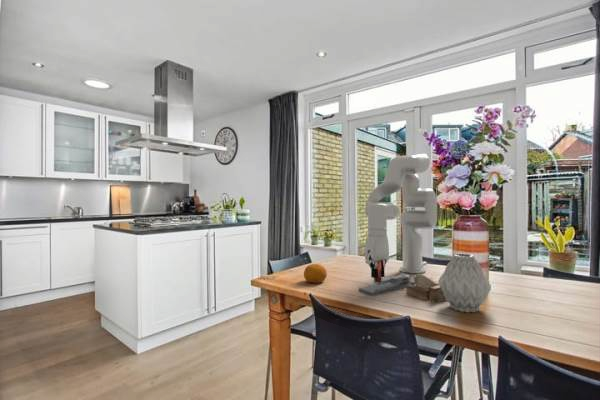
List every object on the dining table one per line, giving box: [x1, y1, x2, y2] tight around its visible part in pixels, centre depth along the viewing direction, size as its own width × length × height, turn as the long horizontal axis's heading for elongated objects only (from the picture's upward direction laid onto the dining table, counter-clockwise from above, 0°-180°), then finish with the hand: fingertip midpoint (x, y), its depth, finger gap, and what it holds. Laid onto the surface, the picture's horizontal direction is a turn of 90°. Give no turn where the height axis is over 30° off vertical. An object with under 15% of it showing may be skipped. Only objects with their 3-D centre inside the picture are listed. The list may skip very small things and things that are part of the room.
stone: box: [413, 273, 437, 290], centre depth 125 cm, size 10×7×10 cm
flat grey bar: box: [358, 277, 415, 297], centre depth 134 cm, size 26×8×2 cm, turn 124°
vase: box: [437, 253, 492, 313], centre depth 109 cm, size 16×16×18 cm
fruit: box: [303, 263, 328, 284], centre depth 145 cm, size 10×10×8 cm
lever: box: [373, 261, 411, 285], centre depth 135 cm, size 21×6×11 cm, turn 124°
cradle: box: [405, 281, 446, 303], centre depth 124 cm, size 13×12×5 cm
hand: (377, 276), depth 131 cm, fingers closed on lever, 3 cm apart
